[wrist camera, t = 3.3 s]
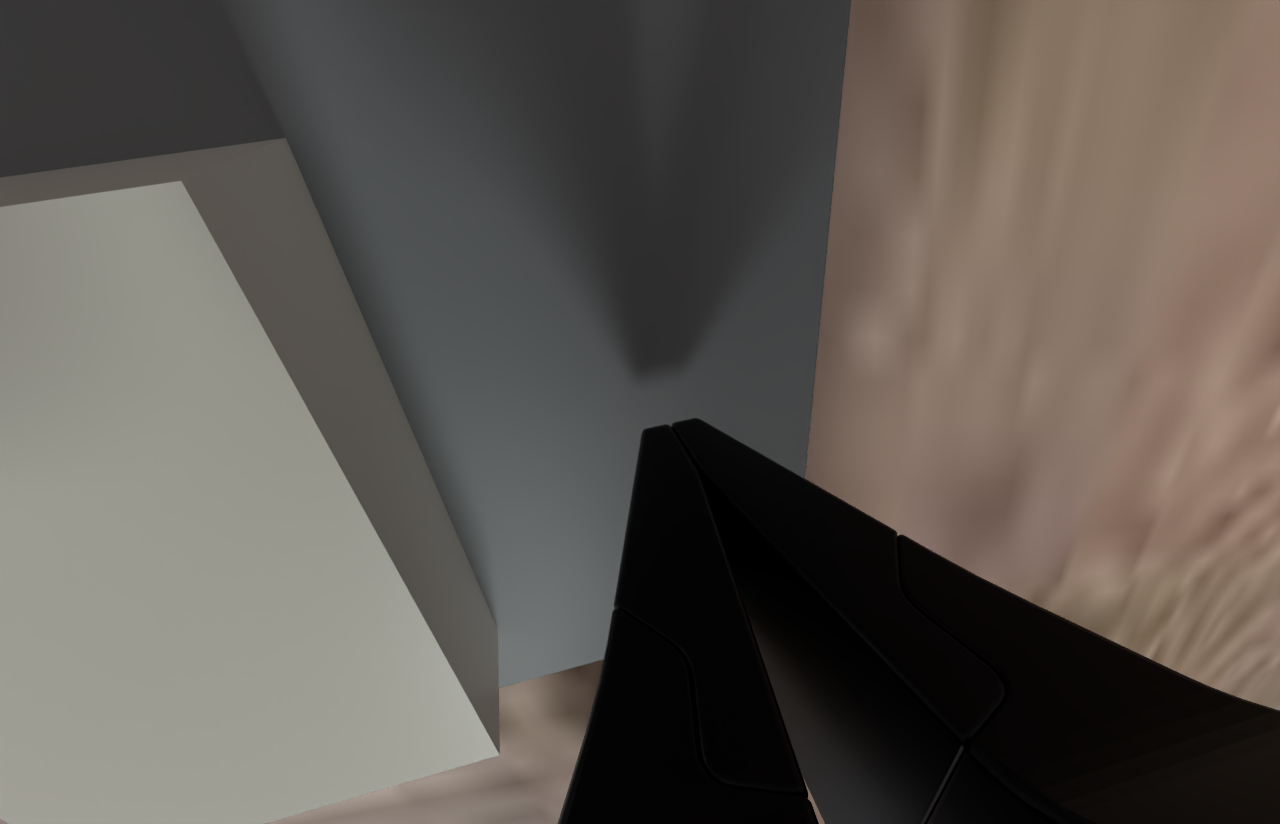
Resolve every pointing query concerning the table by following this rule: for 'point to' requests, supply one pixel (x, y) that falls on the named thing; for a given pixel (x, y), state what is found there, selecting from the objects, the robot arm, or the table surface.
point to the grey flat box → (508, 227)
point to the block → (213, 512)
